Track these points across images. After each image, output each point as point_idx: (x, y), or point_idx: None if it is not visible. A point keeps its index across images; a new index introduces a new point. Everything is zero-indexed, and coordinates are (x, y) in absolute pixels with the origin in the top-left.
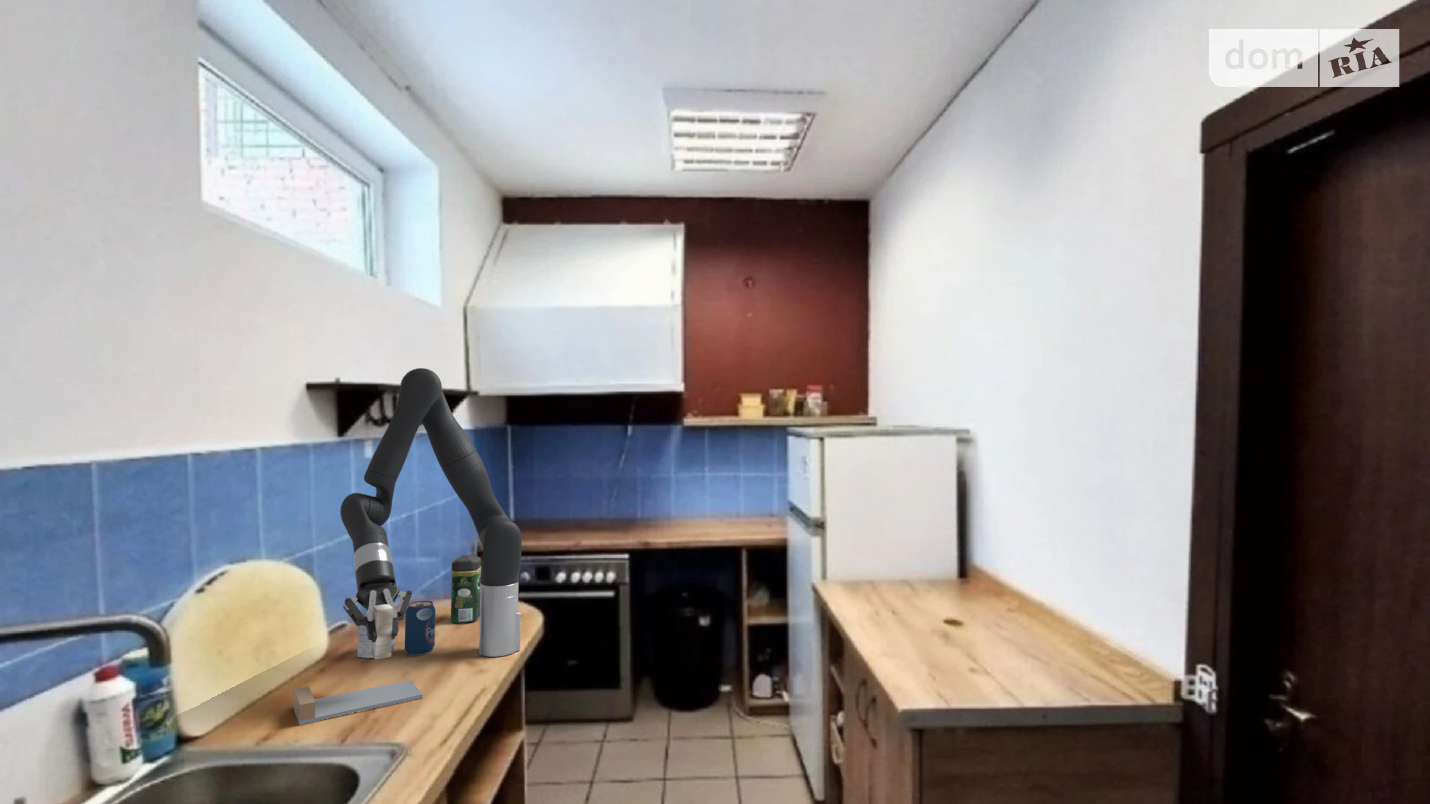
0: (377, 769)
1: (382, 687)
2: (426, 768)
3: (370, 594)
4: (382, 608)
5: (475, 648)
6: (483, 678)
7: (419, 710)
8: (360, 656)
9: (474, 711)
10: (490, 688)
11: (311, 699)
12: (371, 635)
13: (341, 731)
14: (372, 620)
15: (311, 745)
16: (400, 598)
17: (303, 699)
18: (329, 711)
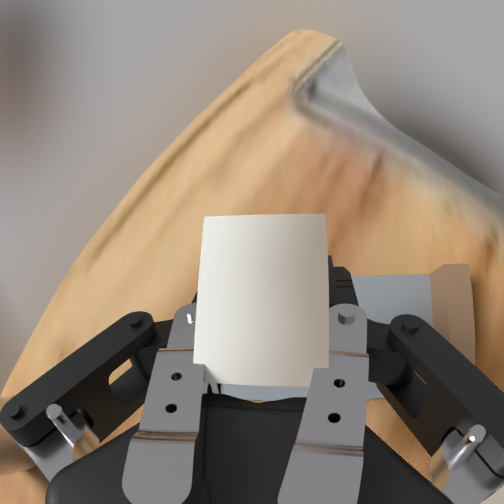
0: (335, 69)
1: (269, 386)
2: (282, 51)
3: (356, 475)
4: (277, 244)
5: (42, 484)
6: (73, 311)
7: (231, 215)
8: None
9: (157, 161)
10: (88, 248)
11: (450, 286)
12: (337, 271)
13: (382, 200)
14: (335, 307)
15: (424, 175)
16: (85, 436)
17: (464, 297)
18: (403, 294)
